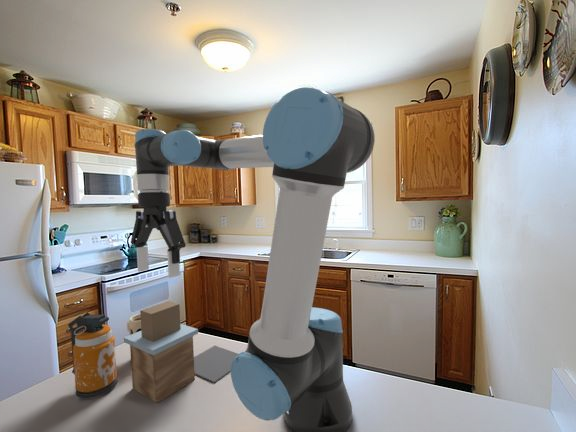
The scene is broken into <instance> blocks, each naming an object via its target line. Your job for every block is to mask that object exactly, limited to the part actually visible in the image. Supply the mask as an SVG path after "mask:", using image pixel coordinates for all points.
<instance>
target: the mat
mask: <svg viewBox="0 0 576 432" xmlns="http://www.w3.org/2000/svg"><path fill="white" fill-rule="evenodd" d="M238 354H239V353H237V352H235V351H232V350H228V349H226V348H223V347H220V346H217V345H213V346H212V347H209V348H207V349H206V350H204V351H202V352H201V353H199V354H198V355H194V373H195V376H197V377H200V378H201V379H205V380H206V381H209V382H211V383H214V384H216V383H217V382H218V381H219V380H221V379H222V378H224V377H225V376H226V375H229V374H231V365H232V362H233V360H234V359H235V358H236V357H237V356H238Z"/></svg>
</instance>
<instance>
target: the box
mask: <svg viewBox="0 0 576 432" xmlns="http://www.w3.org/2000/svg"><path fill="white" fill-rule="evenodd" d="M129 347H130V349H129V350H130V352H129V353H130V365H131V383H132V384H131V385H132V389H133V390H135V391H137V392H139V394H141V395H143V396H144V397H146V398H148V399H150V400H151V401H153V402H155V403H157V404H159V403H161V402H162V401H163V400H165V399H166V398H168V397H169V396H171V395H172V394H175V393H176V392H177V391H179V390H180V389H182V388H183V387H186V386H187V385H188V384H189V383H192V382H194V380H196V377H195V376H196V375H195V373H194V357H195V355H194V336H192V337H190V338H188V339H186V340H184V341H182V342H180V343H178V344H176V345H173V346H171V347H169V348H167V349H165V350H163V351H161V352H159V353H157V354H155V355H152V354H149V353H147V352H145V351H143V350H140V349H138V348H136V347H134V346H131V345H129Z"/></svg>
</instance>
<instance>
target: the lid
mask: <svg viewBox="0 0 576 432" xmlns="http://www.w3.org/2000/svg"><path fill="white" fill-rule="evenodd" d="M180 310H181V305H180V303H177V302H174V301H169V300H168V301H164V302H161V303H158V304H156V305H152V306H150V307H146V308H144V309H140V313H139V314H140V315H141V331H139V332H136V333H134V334H131V335H127V336H124V337H123V342H124V343H125V344H127V345H129V346H130V345H131V346H134V347H136V348H138V349H140V350H143V351H145V352H147V353H149V354H152V355H155V354H157V353H159V352H161V351H163V350H165V349H167V348H169V347H171V346H173V345H176V344H178V343H180V342H182V341H184V340H186V339H188V338H190V337H192V336H193V337H194V336H196V335H198V334H199V329H198V328H195V327H192V326H189V325H187V324H182V323H181V311H180Z"/></svg>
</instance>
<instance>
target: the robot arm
mask: <svg viewBox="0 0 576 432" xmlns="http://www.w3.org/2000/svg"><path fill="white" fill-rule="evenodd" d="M134 137H135V138H134V139H135V140H134V141H135V142H134V150H135V163H136V164H135V167H136V168H135V169H136V184H137V185H136V189H137V191H139V193H137V204H138V207H139V208H143V210H136V211H135V222H134V227H133V231H132V236H131V240H130V245H134V247H135V248H136V262H137V272H144V271H148V270H150V268H149V265H150V264H149V247H148V240H149V238H150V236H151V234H152V232H153V229H156V230H157V231H159V232H160V235H161V236H162V238H163V240H164V243H165V244H166V246H167V247H168V249H167V251H166V253H167V271H168V272H167V274H168V278H174V277H179V276H180V275H181V270H180V269H181V267H180V262H181V257H180V254H181V253H180V251H181V249H183V248H186V245H187V244H186V241H185V238H184V236H183V234H182V230H181V228H180V225H179V222H178V218H177V215H176V214H177V213H176V210H174V209H172V210H171V209H170V210H168V209H167V207H170V206H171V195H170V193H169V192H168V191H169V190H170V182H169V181H170V180H169V179H170V177H169V176H170V175H169V174H170V173H169V172H170V171H169V167H174V166H179V167H180V166H182V167H188V168H189V167H190V168H191V167H192V168H202V169H203V168H205V169H213V170H220V171H227V170H228V171H231V170H234V169H253V168H255V169H257V168H272V176H271V177H272V178H273V180H274V181H275V183H276V184H277V186H278V187H279V191H278V192H279V193H278V198H277V204H276V205H277V206H276V213H275V218H274V224H273V225H274V226H273V233H272V237H271V238H272V239H271V245H270V253H269V259H268V266H267V272H266V279H265V285H264V293H263V297H262V298H263V299H262V307H261V312H260V318H259V319H257V320H256V321H254V323H252V325H251V327H250V330H249V333H248V334H249V335H248V342H247V348H245V349H246V350H245V351H242V352H241V351H240V353H238V356H237V357H236V358H235V359H234V360H233V362H232V365H231V372H230V378H231V379H230V380H231V383H232V386H233V389H234V392H235V393H236V395H237V397H238V399H239V400H240V402H241V403H242V405H243V406H244V407H245V408H246V410H248V411H249V412H250V413H251V414H252V415H254V417H256V418H258V419H259V420H263V421H269V422H270V421H275V420H277V419H279V418H280V417H281V416H282V415H283V420H284V422H285V424H286V426H287V427H288V429H289V430H291V432H347V431H348V429H349V428H350V426H351V424H352V421H353V406H352V402H351V398H350V395H349V393H348V390H347V387H346V385H345V381H344V358H343V357H344V353H343V351H344V350H343V348H344V346H343V333H344V329H343V325H342V319H341V318H342V317H341V316H340V315H339V314H338V313H336V312H334V311H332V310H330V309H326V308H321V307H313V303H314V298H315V292H316V287H317V282H318V276H319V272H320V266H321V265H320V264H321V261H322V255H323V249H324V244H325V239H326V233H327V228H328V222H329V217H330V212H331V206H332V201H333V197H334V196H335V195H336V194H337V193H339V192H340V191H342V190H343V189H345V185H346V177H347V174H349V173H351V172H354V171H356V170H358V169H359V168H361V167H362V166H363V165H365V163H367V162H368V160H369V159H370V157H371V155H372V153H373V150H374V146H375V131H374V128H373V125H372V123H371V121H370V119H369V118H368V117H367V116H366V115H365V113H363V112H361V111H360V110H358V109H356V108H354V107H352V106H350V105H349V104H347V103H345V102H343V101H342V100H340V99H339V98H337V96H336V95H334V94H333V93H332V92H331V93H330V92H329V91H326V90H325V91H324V90H321V89H320V88H319V89H318V88H317V87H313V86H300V87H296V88H293V89H291V90H289V91H287V92H286V93H284V94H283V95H282V96H281V98H280V99H279V100H277V101H275V103H273V105H272V106H271V108H270V110H269V111H268V113H267V115H266V118H265V121H264V124H263V129H262V134H258V135H251V136H243V137H233V138H227V139H219V140H218V139H217V140H216V139H209V138H204V137H199V136H197V135H195V134H194V133H193V132H191V131H190V130H187V129H180V130H173V131H169V132H168V133H166V132H165V131H163V130H160V129H155V128H146V129H139V130H137V131H136V132H135V134H134Z"/></svg>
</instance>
